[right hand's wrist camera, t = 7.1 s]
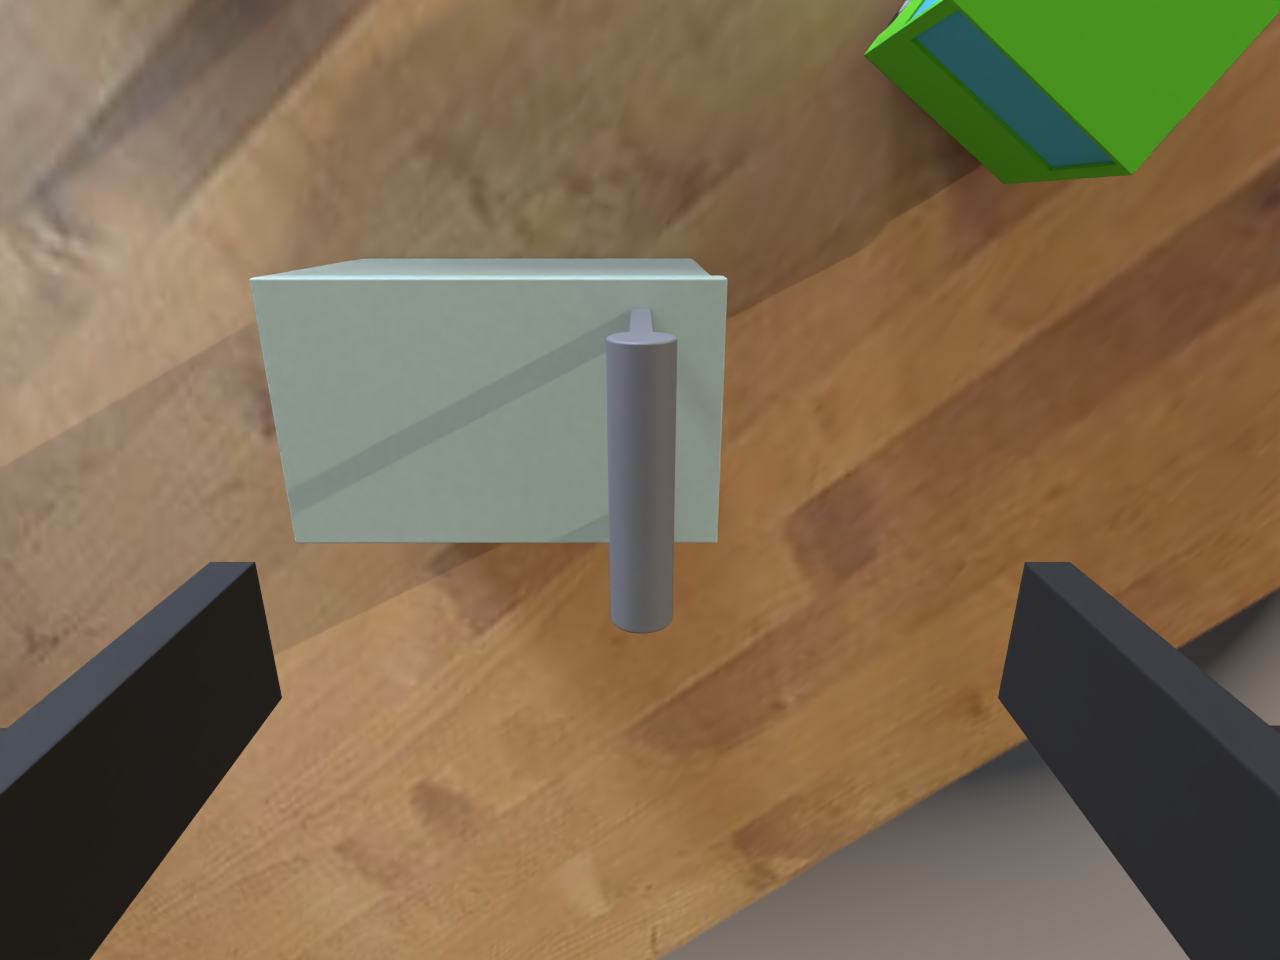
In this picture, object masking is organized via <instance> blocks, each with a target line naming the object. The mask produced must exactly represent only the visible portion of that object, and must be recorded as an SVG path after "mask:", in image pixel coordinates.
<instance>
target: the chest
mask: <svg viewBox="0 0 1280 960" xmlns="http://www.w3.org/2000/svg"><path fill="white" fill-rule="evenodd" d="M267 276H710V275H709V274H708V273H707V272H706V271H705V270H704V269H703V268H702V267H700V266H699V265H698V264H697V263H696V262H695V261H694V260H693V259H358V260H352V261H346V262H340V263H334V264H329V265H323V266H317V267H311V268H306V269H300V270H294V271H289V272H283V273H277V274H271V275H267Z"/></svg>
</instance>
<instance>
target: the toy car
mask: <svg viewBox="0 0 1280 960" xmlns="http://www.w3.org/2000/svg"><path fill="white" fill-rule="evenodd" d="M1279 11H1280V0H906V2H905V3H904V4H903V5H902V7H901V8H900V9H899V11H898V12H897V14H896V15H895V16H894V18H893V19H892V21H891V22H890V23H889V25H888V27H887V28H886V30H884V31H883V32H882V33H881V34H879V36H878V37H877V38H876V40H875V41H874V42H873V44H872V45H871V46H870V48H869V49H868V50H867V52H866V53H865V54H864V56H865V57H866V58H867V59H868V60H870V61H871V62H872V63H873V64H874V65H875V66H876V67H877V68H878V69H879V70H880V71H881V72H883V73H884V74H885V75H886V76H887V77H888V78H889V79H890V80H891V81H892V82H893V83H895V84H896V85H897V86H898V87H899V88H900V89H901V90H902V91H903V92H904V93H905V94H906V95H908V96H909V97H910V98H911V99H912V100H913V101H914V102H915V103H916V104H917V105H918V106H920V107H921V108H922V109H923V110H924V111H925V112H926V113H927V114H928V115H929V116H930V117H932V118H933V119H934V120H935V121H936V122H937V123H938V124H939V125H940V126H941V127H942V128H943V129H945V130H946V131H947V132H948V133H949V134H950V135H951V136H952V137H953V138H954V139H955V140H957V141H958V142H959V143H960V144H961V145H962V146H963V147H964V148H965V149H966V150H967V151H969V152H970V153H971V154H972V155H973V156H974V157H975V158H976V159H977V160H978V161H979V162H980V163H982V164H983V165H984V166H985V167H986V168H987V169H988V170H989V171H990V172H991V173H992V174H994V175H995V176H996V177H997V178H998V179H999V180H1000V181H1001V182H1002V183H1003V184H1010V183H1024V182H1038V181H1052V180H1066V179H1080V178H1093V177H1107V176H1121V175H1132V174H1133V173H1134V172H1135V171H1136V170H1137V169H1138V168H1139V167H1140V166H1141V164H1142V163H1143V162H1144V161H1145V160H1146V159H1147V158H1148V157H1149V156H1150V155H1151V153H1152V152H1153V151H1154V150H1155V149H1156V148H1157V147H1158V146H1159V145H1160V143H1161V142H1162V141H1163V140H1164V139H1165V138H1166V137H1167V136H1168V135H1169V133H1170V132H1171V131H1172V130H1173V129H1174V128H1175V127H1176V126H1177V125H1178V123H1179V122H1180V121H1181V120H1182V119H1183V118H1184V117H1185V116H1186V115H1187V113H1188V112H1189V111H1190V110H1191V109H1192V108H1193V107H1194V106H1195V105H1196V103H1197V102H1198V101H1199V100H1200V99H1201V98H1202V97H1203V96H1204V95H1205V94H1206V92H1207V91H1208V90H1209V89H1210V88H1211V87H1212V86H1213V85H1214V84H1215V82H1216V81H1217V80H1218V79H1219V78H1220V77H1221V76H1222V75H1223V74H1224V72H1225V71H1226V70H1227V69H1228V68H1229V67H1230V66H1231V65H1232V64H1233V62H1234V61H1235V60H1236V59H1237V58H1238V57H1239V56H1240V55H1241V54H1242V52H1243V51H1244V50H1245V49H1246V48H1247V47H1248V46H1249V45H1250V44H1251V42H1252V41H1253V40H1254V39H1255V38H1256V37H1257V36H1258V35H1259V34H1260V32H1261V31H1262V30H1263V29H1264V28H1265V27H1266V26H1267V25H1268V24H1269V23H1270V21H1271V20H1272V19H1273V18H1274V17H1275V16H1276V15H1277V14H1278V13H1279Z"/></svg>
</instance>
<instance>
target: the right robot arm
mask: <svg viewBox="0 0 1280 960" xmlns="http://www.w3.org/2000/svg"><path fill="white" fill-rule="evenodd" d="M281 698H282V696H281V691H280V686H279V681H278V675H277V670H276V665H275V660H274V655H273V650H272V645H271V640H270V635H269V630H268V625H267V620H266V615H265V610H264V605H263V600H262V595H261V590H260V585H259V579H258V574H257V569H256V564H255V562H210V563H209V564H207V565H206V566H205V567H204V568H202V569H201V570H200V571H199V572H198V573H196V574H195V575H194V576H193V577H191V578H190V579H189V580H188V581H187V582H185V583H184V584H183V585H182V586H180V587H179V588H178V589H177V590H176V591H174V592H173V593H172V594H171V595H169V596H168V597H167V598H166V599H165V600H163V601H162V602H161V603H160V604H158V605H157V606H156V607H155V608H154V609H152V610H151V611H150V612H149V613H147V614H146V615H145V616H144V617H143V618H141V619H140V620H139V621H138V622H136V623H135V624H134V625H133V626H132V627H130V628H129V629H128V630H127V631H125V632H124V633H123V634H122V635H121V636H119V637H118V638H117V639H116V640H115V641H113V642H112V643H111V644H110V645H108V646H107V647H106V648H105V649H104V650H102V651H101V652H100V653H99V654H97V655H96V656H95V657H94V658H93V659H91V660H90V661H89V662H88V663H86V664H85V665H84V666H83V667H82V668H80V669H79V670H78V671H77V672H75V673H74V674H73V675H72V676H71V677H69V678H68V679H67V680H66V681H64V682H63V683H62V684H61V685H60V686H58V687H57V688H56V689H55V690H53V691H52V692H51V693H50V694H49V695H47V696H46V697H45V698H44V699H42V700H41V701H40V702H39V703H38V704H36V705H35V706H34V707H33V708H31V709H30V710H29V711H28V712H27V713H25V714H24V715H23V716H22V717H20V718H19V719H18V720H17V721H16V722H14V723H13V724H12V725H11V726H9V727H8V728H0V960H90V958H91V957H92V956H93V954H94V953H95V952H96V950H97V949H98V948H99V946H100V945H101V943H102V942H103V941H104V939H105V938H106V937H107V935H108V934H109V933H110V931H111V930H112V928H113V927H114V926H115V924H116V923H117V922H118V920H119V919H120V918H121V916H122V915H123V913H124V912H125V911H126V909H127V908H128V907H129V905H130V904H131V903H132V901H133V900H134V898H135V897H136V896H137V894H138V893H139V892H140V890H141V889H142V888H143V886H144V885H145V884H146V882H147V881H148V879H149V878H150V877H151V875H152V874H153V873H154V871H155V870H156V869H157V867H158V866H159V864H160V863H161V862H162V860H163V859H164V858H165V856H166V855H167V854H168V852H169V851H170V849H171V848H172V847H173V845H174V844H175V843H176V841H177V840H178V839H179V837H180V836H181V834H182V833H183V832H184V830H185V829H186V828H187V826H188V825H189V824H190V822H191V821H192V820H193V818H194V817H195V815H196V814H197V813H198V811H199V810H200V809H201V807H202V806H203V805H204V803H205V802H206V800H207V799H208V798H209V796H210V795H211V794H212V792H213V791H214V790H215V788H216V787H217V785H218V784H219V783H220V781H221V780H222V779H223V777H224V776H225V775H226V773H227V772H228V771H229V769H230V768H231V766H232V765H233V764H234V762H235V761H236V760H237V758H238V757H239V756H240V754H241V753H242V751H243V750H244V749H245V747H246V746H247V745H248V743H249V742H250V741H251V739H252V738H253V736H254V735H255V734H256V732H257V731H258V730H259V728H260V727H261V726H262V724H263V723H264V721H265V720H266V719H267V717H268V716H269V715H270V713H271V712H272V711H273V709H274V708H275V707H276V705H277V704H278V702H279V701H280V700H281ZM998 698H999V700H1000V701H1001V702H1002V704H1003V705H1004V707H1005V708H1006V709H1007V711H1008V712H1009V713H1010V715H1011V716H1012V717H1013V719H1014V720H1015V721H1016V723H1017V724H1018V726H1019V727H1020V728H1021V730H1022V731H1023V732H1024V734H1025V735H1026V736H1027V738H1028V739H1029V741H1030V742H1031V743H1032V745H1033V746H1034V747H1035V749H1036V750H1037V751H1038V753H1039V754H1040V756H1041V757H1042V758H1043V760H1044V761H1045V762H1046V764H1047V765H1048V766H1049V768H1050V769H1051V771H1052V772H1053V773H1054V775H1055V776H1056V777H1057V779H1058V780H1059V781H1060V783H1061V784H1062V785H1063V787H1064V788H1065V790H1066V791H1067V792H1068V794H1069V795H1070V796H1071V798H1072V799H1073V800H1074V802H1075V803H1076V805H1077V806H1078V807H1079V809H1080V810H1081V811H1082V813H1083V814H1084V815H1085V817H1086V818H1087V820H1088V821H1089V822H1090V824H1091V825H1092V826H1093V828H1094V829H1095V830H1096V832H1097V833H1098V834H1099V836H1100V837H1101V839H1102V840H1103V841H1104V843H1105V844H1106V845H1107V847H1108V848H1109V849H1110V851H1111V852H1112V854H1113V855H1114V856H1115V858H1116V859H1117V860H1118V862H1119V863H1120V864H1121V866H1122V867H1123V869H1124V870H1125V871H1126V873H1127V874H1128V875H1129V877H1130V878H1131V879H1132V881H1133V882H1134V883H1135V885H1136V886H1137V888H1138V889H1139V890H1140V892H1141V893H1142V894H1143V896H1144V897H1145V898H1146V900H1147V901H1148V902H1149V904H1150V905H1151V907H1152V908H1153V909H1154V911H1155V912H1156V913H1157V915H1158V916H1159V918H1160V919H1161V920H1162V922H1163V923H1164V924H1165V926H1166V927H1167V928H1168V930H1169V931H1170V933H1171V934H1172V935H1173V937H1174V938H1175V939H1176V941H1177V942H1178V943H1179V945H1180V946H1181V948H1182V949H1183V950H1184V952H1185V953H1186V954H1187V956H1188V957H1189V958H1190V960H1280V726H1269V725H1268V724H1267V723H1266V722H1264V721H1263V720H1262V719H1261V718H1260V717H1258V716H1257V715H1256V714H1255V713H1253V712H1252V711H1251V710H1250V709H1249V708H1247V707H1246V706H1245V705H1244V704H1242V703H1241V702H1240V701H1239V700H1238V699H1236V698H1235V697H1234V696H1233V695H1231V694H1230V693H1229V692H1228V691H1227V690H1225V689H1224V688H1223V687H1222V686H1220V685H1219V684H1218V683H1217V682H1215V681H1214V680H1213V679H1212V678H1211V677H1209V676H1208V675H1207V674H1206V673H1205V672H1203V671H1202V670H1201V669H1200V668H1198V667H1197V666H1196V665H1195V664H1194V663H1192V662H1191V661H1190V660H1189V659H1187V658H1186V657H1185V656H1184V655H1183V654H1181V653H1180V652H1179V651H1178V650H1176V649H1175V648H1174V647H1173V646H1172V645H1170V644H1169V643H1168V642H1167V641H1165V640H1164V639H1163V638H1162V637H1161V636H1159V635H1158V634H1157V633H1156V632H1155V631H1153V630H1152V629H1151V628H1150V627H1148V626H1147V625H1146V624H1145V623H1144V622H1142V621H1141V620H1140V619H1139V618H1137V617H1136V616H1135V615H1134V614H1133V613H1131V612H1130V611H1129V610H1128V609H1126V608H1125V607H1124V606H1123V605H1122V604H1120V603H1119V602H1118V601H1117V600H1115V599H1114V598H1113V597H1112V596H1111V595H1109V594H1108V593H1107V592H1106V591H1104V590H1103V589H1102V588H1101V587H1100V586H1098V585H1097V584H1096V583H1095V582H1093V581H1092V580H1091V579H1090V578H1089V577H1087V576H1086V575H1085V574H1084V573H1082V572H1081V571H1080V570H1079V569H1078V568H1076V567H1075V566H1074V565H1073V564H1071V563H1070V562H1025V564H1024V569H1023V574H1022V579H1021V585H1020V590H1019V595H1018V600H1017V605H1016V610H1015V615H1014V620H1013V625H1012V630H1011V635H1010V640H1009V645H1008V650H1007V655H1006V660H1005V665H1004V670H1003V675H1002V681H1001V686H1000V691H999V696H998Z"/></svg>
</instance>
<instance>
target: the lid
mask: <svg viewBox="0 0 1280 960" xmlns="http://www.w3.org/2000/svg"><path fill="white" fill-rule="evenodd" d="M727 282H728V280H727V278H726V277H724V276H260V277H255V278H251V279H250V284H251V290H252V296H253V302H254V307H255V313H256V319H257V324H258V330H259V336H260V342H261V347H262V353H263V359H264V364H265V370H266V376H267V381H268V387H269V393H270V399H271V404H272V410H273V416H274V421H275V427H276V433H277V439H278V444H279V450H280V456H281V461H282V467H283V473H284V478H285V484H286V490H287V496H288V501H289V507H290V513H291V518H292V524H293V530H294V536H295V541H296V543H609V566H610V618H611V620H612V622H613V624H614V625H615V626H616V627H618V628H620V629H622V630H624V631H627V632H632V633H651V632H656V631H659V630H661V629H663V628H665V627H666V626H668V625H669V624H670V622H671V620H672V618H673V565H674V543H717V537H718V511H719V486H720V460H721V435H722V410H723V384H724V359H725V333H726V308H727Z"/></svg>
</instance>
